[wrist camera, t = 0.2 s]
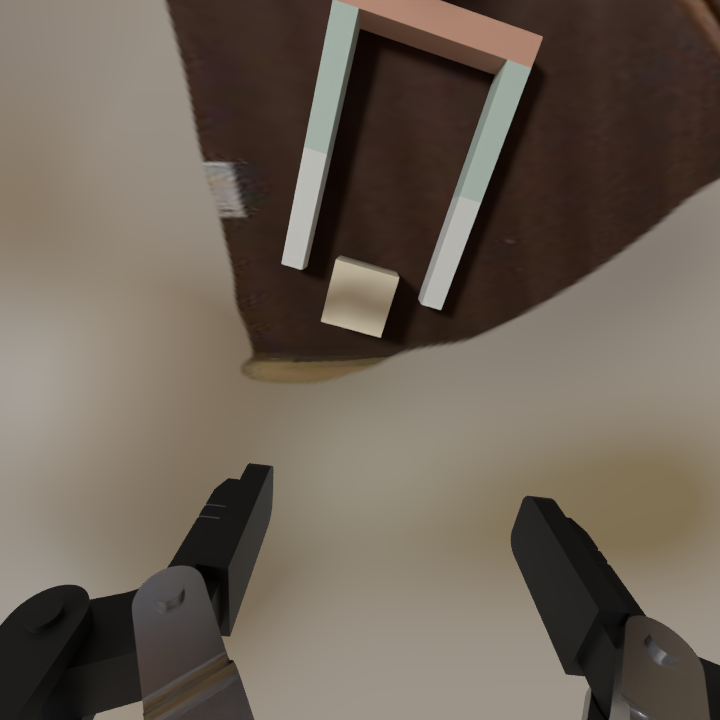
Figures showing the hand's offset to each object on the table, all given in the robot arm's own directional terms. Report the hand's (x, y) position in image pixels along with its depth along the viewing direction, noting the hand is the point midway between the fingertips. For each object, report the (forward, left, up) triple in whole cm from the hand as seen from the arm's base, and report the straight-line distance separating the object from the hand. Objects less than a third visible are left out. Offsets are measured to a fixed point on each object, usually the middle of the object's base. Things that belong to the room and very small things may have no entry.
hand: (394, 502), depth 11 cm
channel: (-12, -2, -28) cm, 31 cm away
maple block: (-1, -2, -29) cm, 29 cm away
